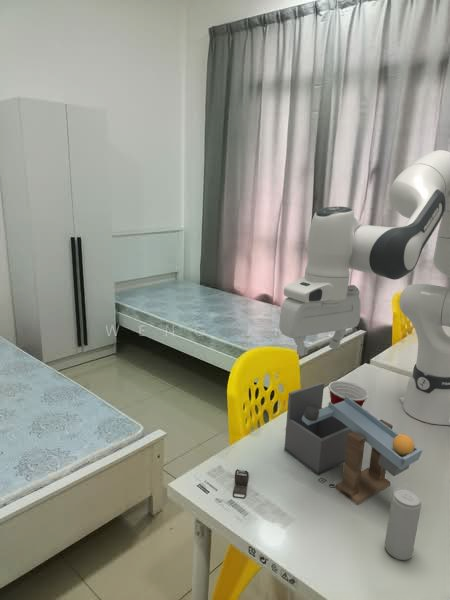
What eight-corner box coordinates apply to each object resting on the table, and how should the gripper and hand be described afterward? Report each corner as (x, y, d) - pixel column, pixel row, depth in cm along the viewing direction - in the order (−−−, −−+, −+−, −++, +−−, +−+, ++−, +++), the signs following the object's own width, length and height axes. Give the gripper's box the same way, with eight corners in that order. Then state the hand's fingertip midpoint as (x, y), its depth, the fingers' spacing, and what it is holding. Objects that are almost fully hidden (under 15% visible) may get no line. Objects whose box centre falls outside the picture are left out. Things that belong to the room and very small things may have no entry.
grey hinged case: (236, 473, 99) (237, 457, 98) (249, 475, 99) (250, 459, 98) (231, 498, 91) (232, 481, 90) (245, 500, 91) (246, 483, 90)
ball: (397, 443, 89) (403, 427, 87) (414, 455, 86) (420, 440, 84) (386, 448, 87) (391, 433, 85) (402, 462, 84) (409, 446, 82)
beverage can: (389, 536, 82) (398, 483, 79) (415, 550, 79) (425, 495, 76) (380, 552, 78) (389, 496, 75) (407, 566, 76) (417, 510, 72)
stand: (367, 470, 101) (375, 416, 98) (389, 485, 96) (398, 428, 93) (335, 488, 95) (342, 430, 91) (357, 504, 90) (365, 444, 86)
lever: (339, 412, 103) (345, 393, 101) (414, 470, 88) (422, 449, 86) (297, 428, 95) (302, 408, 93) (371, 496, 80) (379, 473, 78)
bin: (316, 436, 115) (321, 382, 110) (350, 459, 105) (358, 400, 101) (284, 450, 108) (288, 392, 104) (317, 475, 99) (324, 413, 95)
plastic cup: (366, 440, 113) (371, 400, 110) (324, 435, 115) (329, 395, 112) (361, 420, 124) (366, 382, 121) (323, 415, 126) (327, 377, 123)
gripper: (348, 281, 95) (341, 340, 98) (277, 288, 84) (272, 353, 87) (371, 287, 90) (363, 348, 93) (299, 294, 79) (292, 364, 82)
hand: (318, 351), depth 90 cm, fingers open, 8 cm apart
